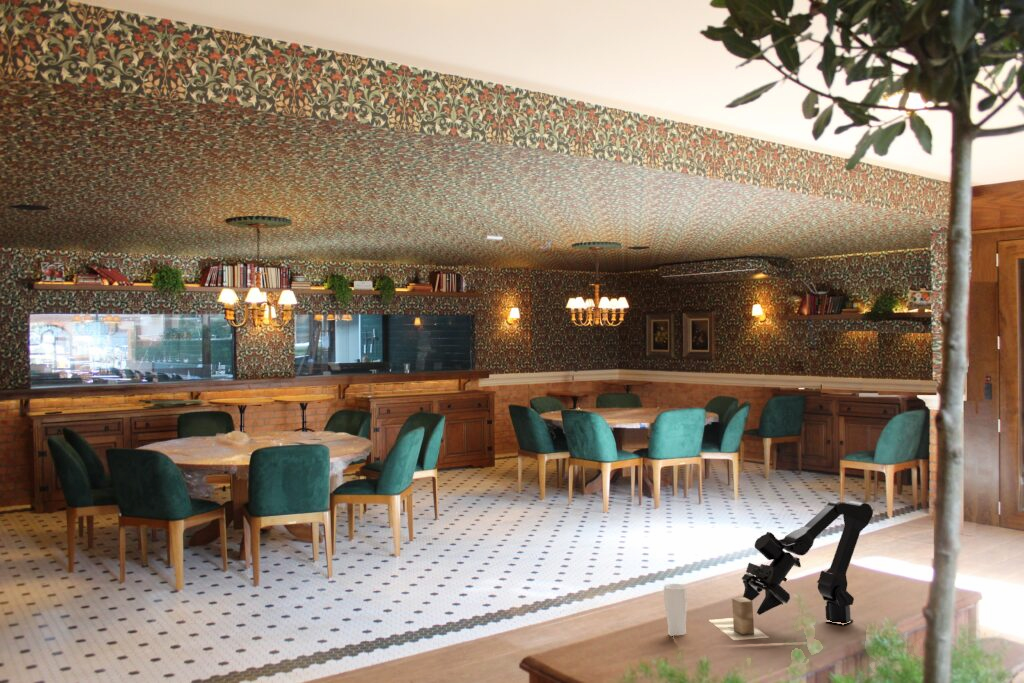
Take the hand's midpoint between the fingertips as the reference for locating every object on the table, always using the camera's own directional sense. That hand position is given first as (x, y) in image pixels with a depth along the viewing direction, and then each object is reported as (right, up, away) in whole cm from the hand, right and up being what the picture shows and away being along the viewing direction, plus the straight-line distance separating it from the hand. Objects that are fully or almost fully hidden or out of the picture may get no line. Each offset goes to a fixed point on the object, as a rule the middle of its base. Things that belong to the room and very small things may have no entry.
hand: (749, 610), depth 261 cm
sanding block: (-2, -7, -1) cm, 7 cm away
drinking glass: (-22, -9, +2) cm, 24 cm away
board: (-3, -8, +4) cm, 9 cm away
